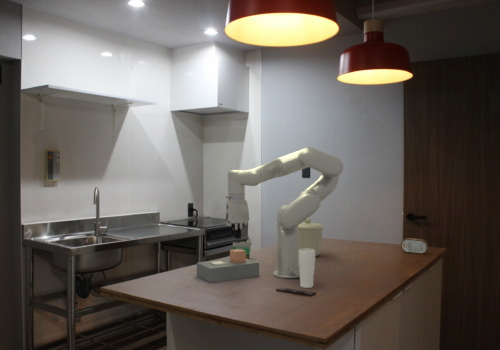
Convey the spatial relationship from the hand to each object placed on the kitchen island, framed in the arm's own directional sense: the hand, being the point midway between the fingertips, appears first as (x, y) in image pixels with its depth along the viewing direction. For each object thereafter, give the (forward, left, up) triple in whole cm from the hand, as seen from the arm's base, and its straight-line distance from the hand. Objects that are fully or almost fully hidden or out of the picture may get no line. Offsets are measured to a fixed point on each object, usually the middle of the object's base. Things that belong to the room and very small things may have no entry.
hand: (237, 238), depth 201 cm
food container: (+26, -19, -17) cm, 37 cm away
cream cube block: (0, +10, -16) cm, 18 cm away
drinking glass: (-32, -14, -17) cm, 39 cm away
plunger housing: (0, +5, -17) cm, 17 cm away
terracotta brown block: (0, 0, -11) cm, 11 cm away
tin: (-4, -115, -17) cm, 117 cm away
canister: (+20, -56, -17) cm, 62 cm away
